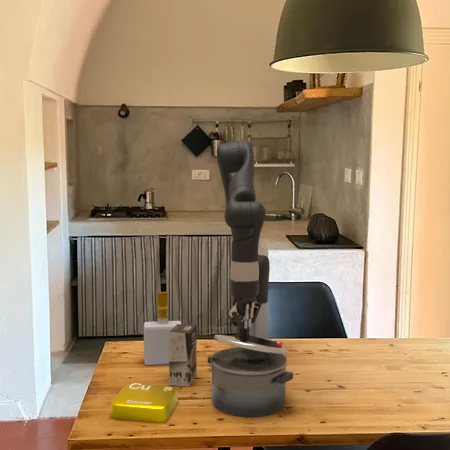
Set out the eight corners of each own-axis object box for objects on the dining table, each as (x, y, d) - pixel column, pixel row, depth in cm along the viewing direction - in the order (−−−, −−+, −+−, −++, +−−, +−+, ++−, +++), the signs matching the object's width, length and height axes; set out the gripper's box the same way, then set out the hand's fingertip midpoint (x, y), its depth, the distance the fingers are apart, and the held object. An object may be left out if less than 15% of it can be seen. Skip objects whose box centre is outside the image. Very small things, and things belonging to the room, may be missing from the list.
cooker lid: (241, 341, 178) (243, 332, 178) (300, 356, 166) (301, 345, 166) (199, 337, 162) (201, 326, 163) (260, 352, 150) (262, 341, 150)
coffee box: (189, 387, 175) (189, 333, 173) (168, 385, 176) (168, 331, 174) (197, 375, 184) (197, 324, 182) (177, 374, 185) (177, 322, 183)
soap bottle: (144, 366, 192) (143, 293, 189) (144, 359, 198) (143, 289, 196) (182, 364, 194) (182, 292, 191) (181, 357, 200) (181, 288, 198)
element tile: (108, 420, 154) (108, 402, 153) (127, 397, 169) (126, 380, 168) (165, 425, 152) (165, 406, 151) (179, 401, 166) (179, 384, 166)
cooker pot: (237, 378, 182) (237, 339, 181) (309, 399, 167) (310, 357, 165) (189, 401, 165) (189, 358, 164) (264, 427, 150) (265, 380, 148)
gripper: (247, 271, 167) (247, 332, 169) (217, 279, 156) (217, 344, 158) (270, 275, 162) (269, 337, 164) (241, 283, 152) (240, 350, 154)
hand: (244, 340), depth 161 cm, fingers closed
